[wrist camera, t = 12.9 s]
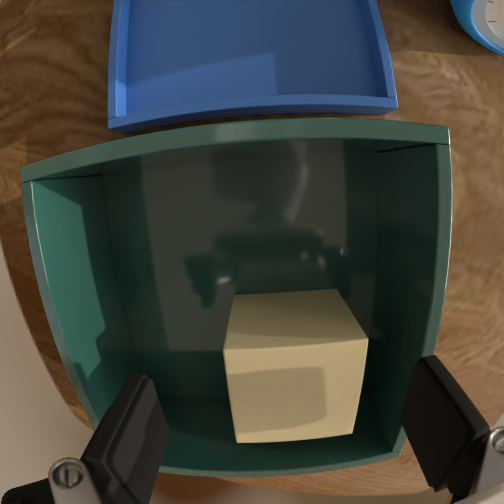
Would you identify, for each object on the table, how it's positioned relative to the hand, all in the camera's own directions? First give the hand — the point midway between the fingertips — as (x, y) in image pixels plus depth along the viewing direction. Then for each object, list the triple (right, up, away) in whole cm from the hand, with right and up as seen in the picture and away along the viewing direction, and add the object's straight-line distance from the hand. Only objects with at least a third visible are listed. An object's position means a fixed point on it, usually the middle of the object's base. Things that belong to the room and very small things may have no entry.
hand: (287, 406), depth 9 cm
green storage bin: (-2, +3, +6) cm, 7 cm away
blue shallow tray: (-2, +21, +2) cm, 21 cm away
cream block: (+1, +1, +6) cm, 6 cm away
